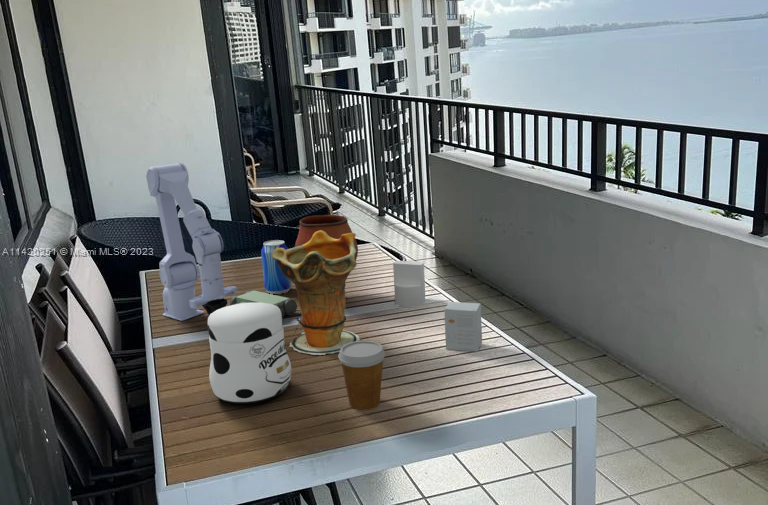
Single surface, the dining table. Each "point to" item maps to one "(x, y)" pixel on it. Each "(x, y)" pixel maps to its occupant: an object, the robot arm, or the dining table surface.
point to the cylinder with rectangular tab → (409, 283)
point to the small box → (463, 326)
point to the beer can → (273, 269)
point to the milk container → (248, 353)
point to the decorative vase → (320, 290)
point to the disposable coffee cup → (362, 373)
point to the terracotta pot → (323, 228)
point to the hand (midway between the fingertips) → (217, 325)
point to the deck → (266, 301)
